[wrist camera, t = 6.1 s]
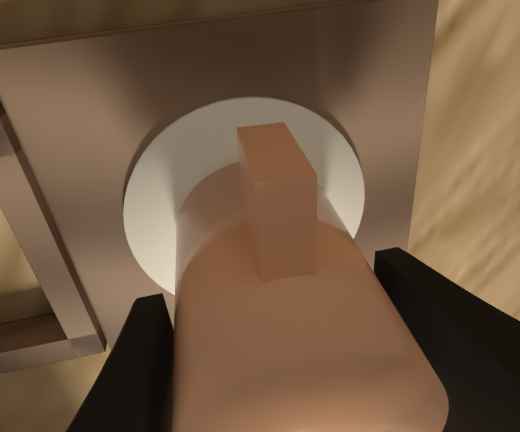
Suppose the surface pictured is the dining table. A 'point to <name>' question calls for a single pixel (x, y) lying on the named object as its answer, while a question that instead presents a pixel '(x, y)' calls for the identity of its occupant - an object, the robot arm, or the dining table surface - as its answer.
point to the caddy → (194, 145)
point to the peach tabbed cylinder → (286, 310)
